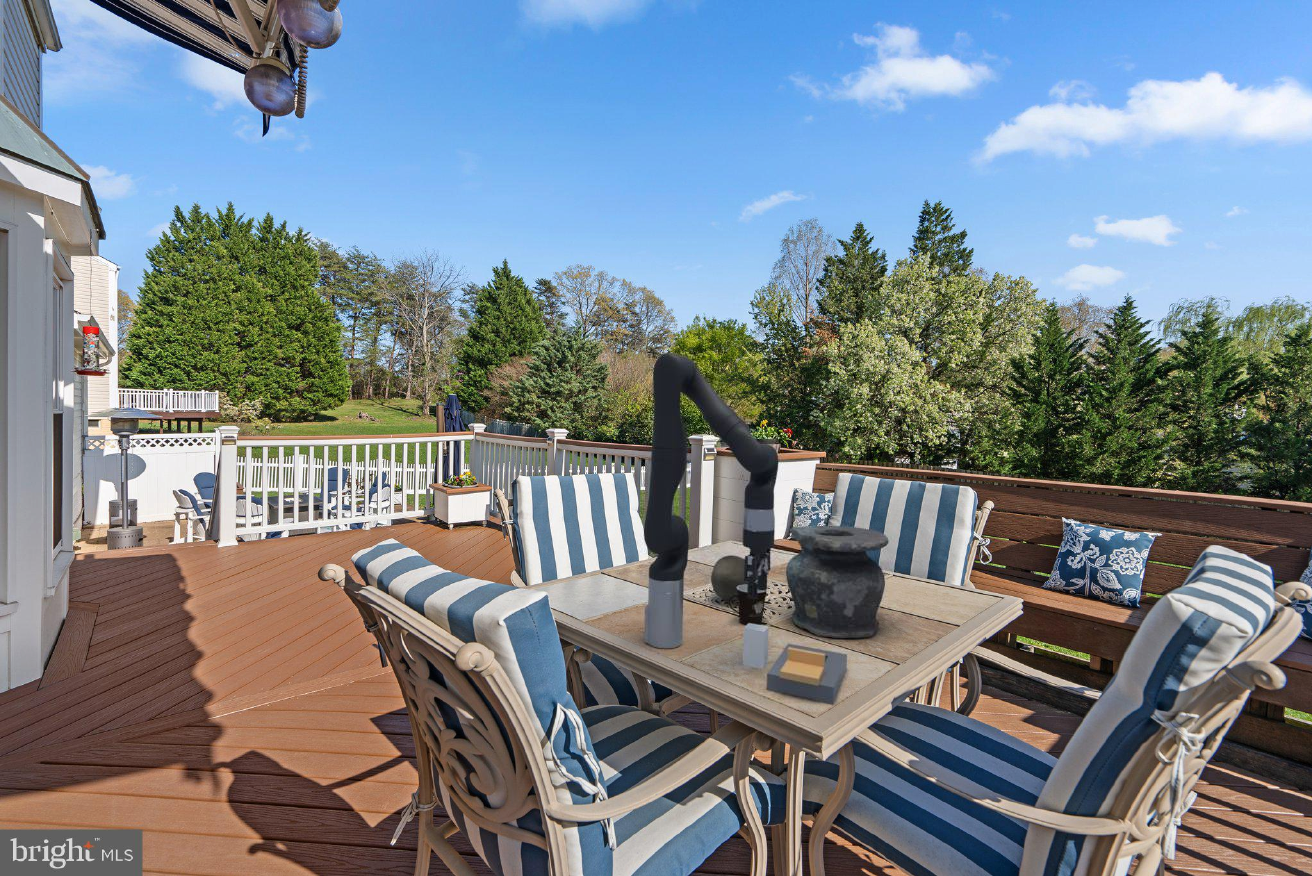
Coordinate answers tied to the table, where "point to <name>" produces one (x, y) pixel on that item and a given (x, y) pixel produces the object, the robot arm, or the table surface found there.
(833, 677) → the socket plate
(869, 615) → the clay pot
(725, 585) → the grey stone ball
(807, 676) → the tan l-shaped block
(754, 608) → the coffee mug
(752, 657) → the plug
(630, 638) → the table surface
